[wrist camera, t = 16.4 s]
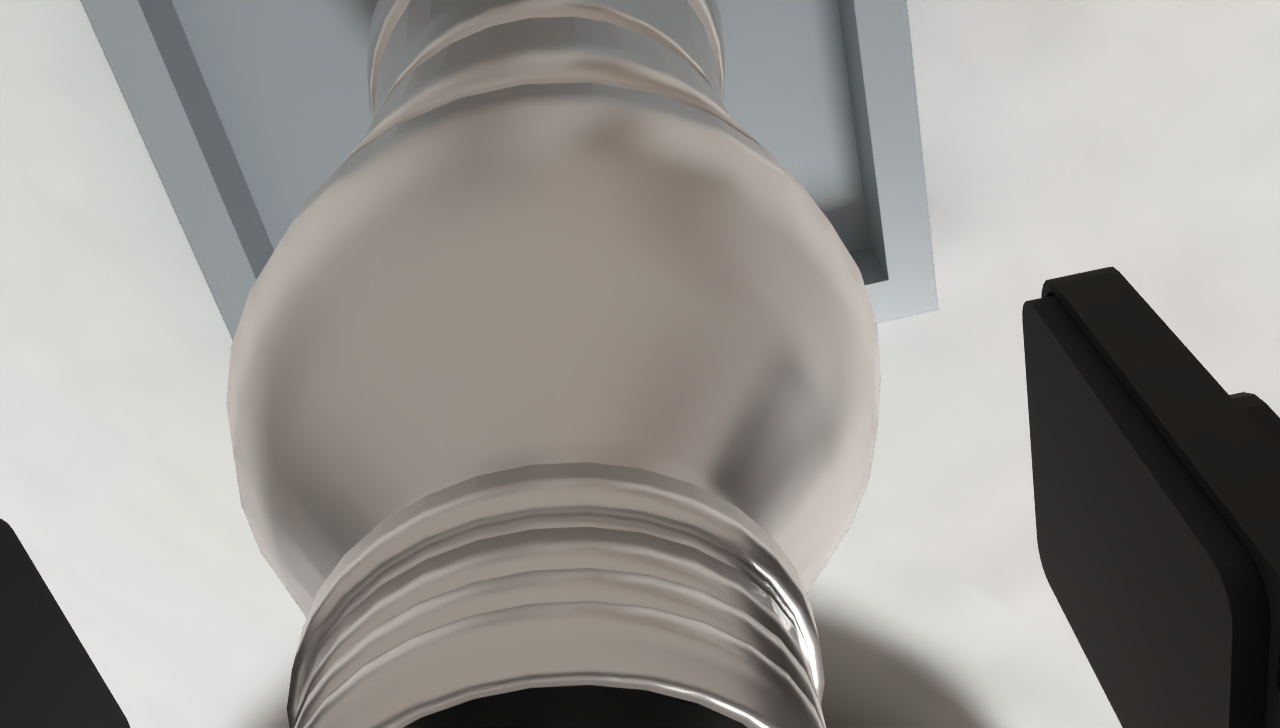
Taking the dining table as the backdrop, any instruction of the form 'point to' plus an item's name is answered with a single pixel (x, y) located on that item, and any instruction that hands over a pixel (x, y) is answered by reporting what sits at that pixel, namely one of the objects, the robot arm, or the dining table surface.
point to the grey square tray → (340, 117)
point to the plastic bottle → (554, 387)
